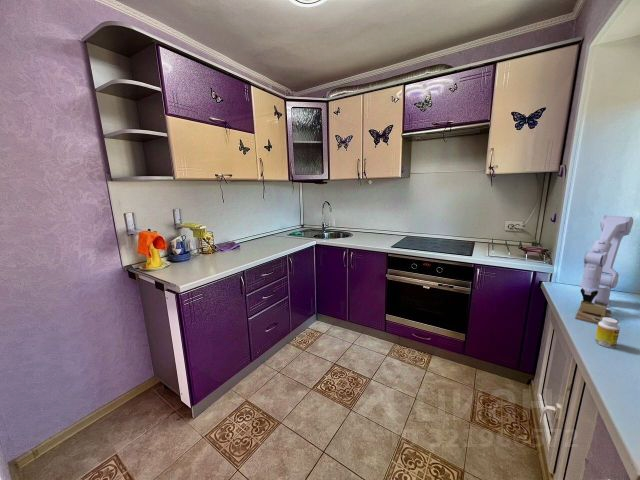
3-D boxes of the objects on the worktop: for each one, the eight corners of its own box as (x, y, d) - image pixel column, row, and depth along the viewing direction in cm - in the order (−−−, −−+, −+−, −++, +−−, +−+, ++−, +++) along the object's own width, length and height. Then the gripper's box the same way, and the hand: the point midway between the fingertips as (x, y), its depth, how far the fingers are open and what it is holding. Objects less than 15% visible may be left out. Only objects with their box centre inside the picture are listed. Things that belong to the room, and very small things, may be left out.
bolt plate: (581, 305, 131) (581, 303, 130) (610, 312, 123) (611, 309, 123) (575, 318, 119) (575, 316, 119) (607, 327, 111) (608, 324, 111)
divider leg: (580, 309, 124) (581, 300, 123) (604, 315, 118) (606, 305, 117) (579, 311, 122) (580, 302, 121) (604, 317, 116) (606, 308, 115)
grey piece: (593, 307, 126) (595, 298, 125) (606, 310, 123) (607, 301, 122) (589, 319, 116) (591, 309, 115) (603, 322, 113) (605, 312, 112)
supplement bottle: (614, 350, 97) (619, 325, 95) (592, 343, 101) (597, 319, 99) (617, 344, 100) (622, 320, 98) (596, 338, 104) (601, 314, 102)
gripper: (581, 271, 129) (577, 297, 132) (577, 279, 120) (572, 306, 123) (602, 275, 124) (597, 301, 127) (599, 283, 115) (594, 311, 118)
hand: (586, 304), depth 125 cm, fingers closed
